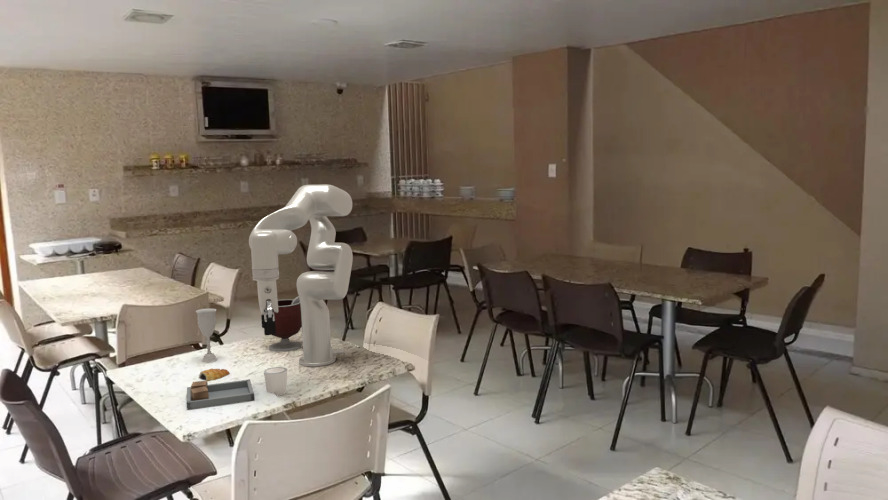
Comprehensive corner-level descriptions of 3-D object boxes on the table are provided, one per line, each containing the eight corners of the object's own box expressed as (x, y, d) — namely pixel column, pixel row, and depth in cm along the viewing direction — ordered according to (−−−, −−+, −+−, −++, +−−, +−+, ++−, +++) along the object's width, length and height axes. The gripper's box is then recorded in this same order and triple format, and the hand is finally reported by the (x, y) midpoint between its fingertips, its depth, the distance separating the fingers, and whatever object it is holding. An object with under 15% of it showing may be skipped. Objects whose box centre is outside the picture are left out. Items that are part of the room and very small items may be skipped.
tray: (250, 388, 200) (250, 379, 199) (254, 403, 187) (254, 393, 186) (187, 397, 193) (186, 387, 193) (187, 413, 180) (186, 402, 180)
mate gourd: (270, 354, 237) (266, 300, 235) (263, 345, 250) (260, 294, 247) (312, 348, 243) (309, 296, 241) (304, 340, 256) (301, 290, 253)
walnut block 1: (208, 393, 193) (207, 380, 193) (206, 398, 189) (205, 384, 189) (193, 394, 192) (193, 381, 192) (191, 399, 188) (190, 386, 188)
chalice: (224, 359, 232) (221, 309, 230) (208, 364, 226) (204, 313, 224) (210, 356, 236) (207, 307, 234) (194, 361, 230) (191, 311, 228)
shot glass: (282, 397, 192) (281, 374, 191) (260, 396, 193) (259, 373, 192) (292, 389, 198) (291, 367, 197) (271, 388, 200) (270, 366, 199)
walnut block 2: (206, 399, 188) (205, 386, 187) (209, 403, 185) (208, 390, 184) (191, 402, 186) (190, 389, 185) (194, 406, 182) (193, 393, 182)
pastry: (223, 374, 216) (222, 363, 215) (234, 378, 211) (233, 366, 211) (196, 381, 209) (196, 370, 208) (208, 385, 204) (207, 374, 204)
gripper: (281, 277, 185) (284, 336, 187) (276, 269, 201) (278, 323, 203) (254, 279, 182) (257, 339, 184) (250, 271, 199) (253, 326, 201)
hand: (268, 331), depth 194 cm, fingers open, 9 cm apart
